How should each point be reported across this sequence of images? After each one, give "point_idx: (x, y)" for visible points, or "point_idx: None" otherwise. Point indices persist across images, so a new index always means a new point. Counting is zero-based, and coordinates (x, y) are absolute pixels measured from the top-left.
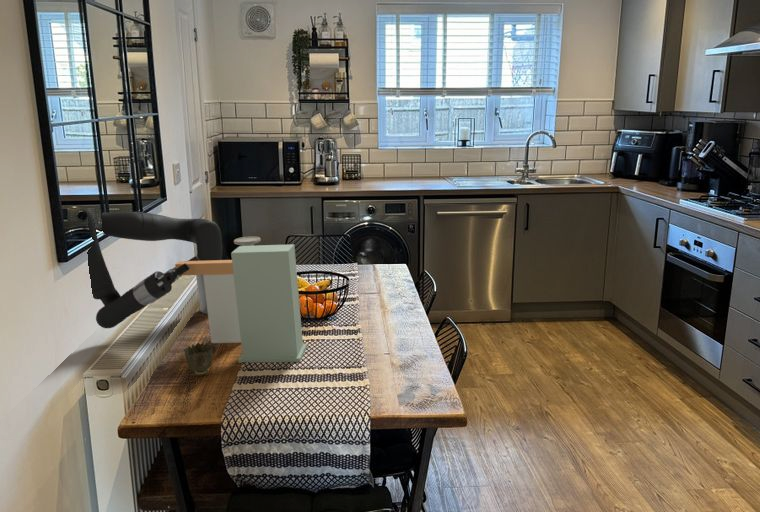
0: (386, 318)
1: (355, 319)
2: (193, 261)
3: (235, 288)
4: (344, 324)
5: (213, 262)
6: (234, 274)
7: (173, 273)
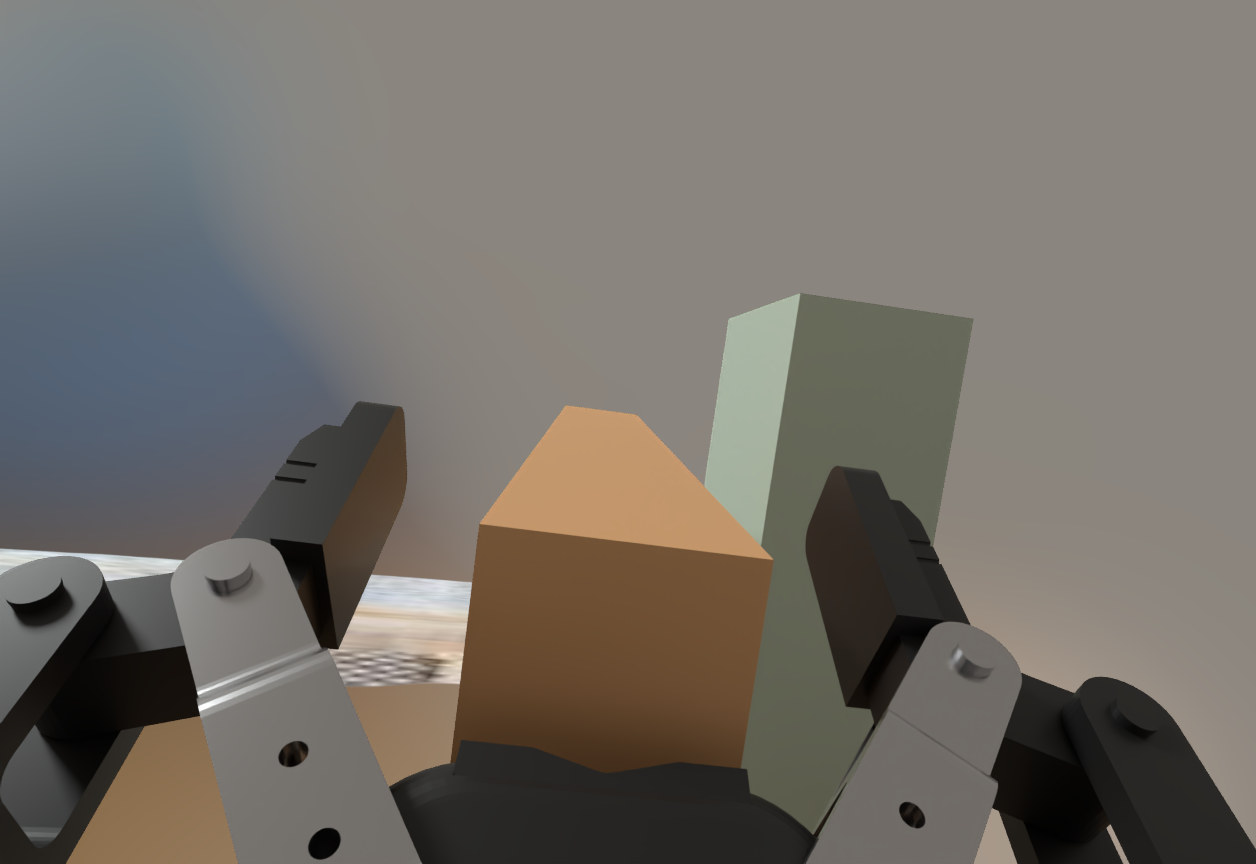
0: (403, 613)
1: (375, 656)
2: (558, 471)
3: (932, 540)
4: (418, 677)
5: (636, 444)
6: (945, 453)
7: (1033, 694)
